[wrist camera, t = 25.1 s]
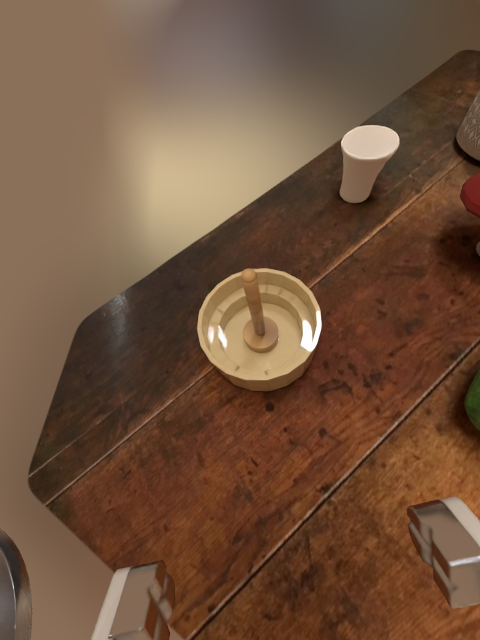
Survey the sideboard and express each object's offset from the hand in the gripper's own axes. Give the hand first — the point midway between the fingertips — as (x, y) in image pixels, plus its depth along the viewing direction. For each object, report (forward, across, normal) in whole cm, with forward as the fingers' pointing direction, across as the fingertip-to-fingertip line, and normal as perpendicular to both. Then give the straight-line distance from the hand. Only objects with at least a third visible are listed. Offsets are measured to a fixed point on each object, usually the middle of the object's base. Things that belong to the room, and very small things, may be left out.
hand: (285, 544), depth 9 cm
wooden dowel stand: (+32, -2, +6) cm, 32 cm away
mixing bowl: (+32, -2, +6) cm, 33 cm away
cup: (+50, -26, -12) cm, 57 cm away
